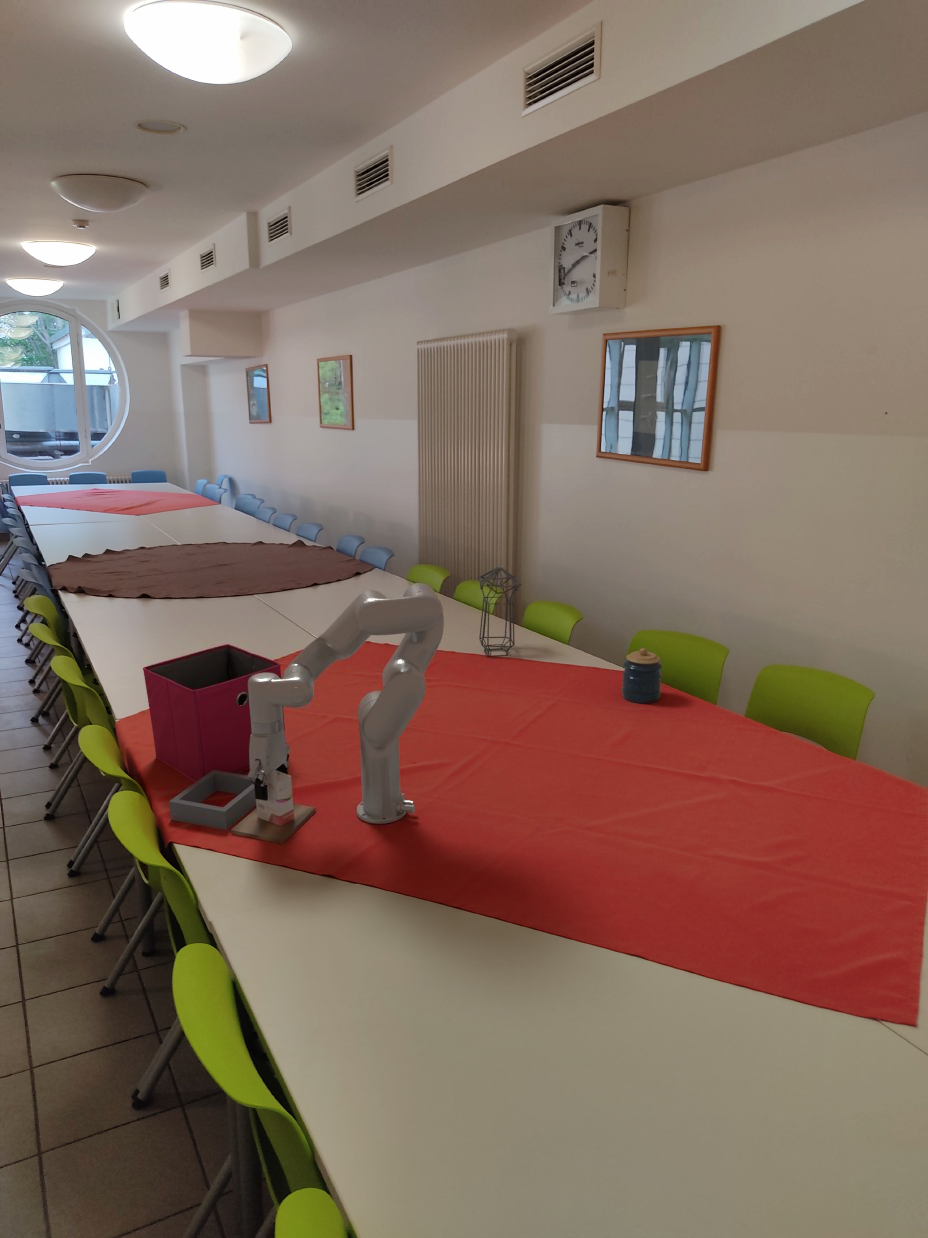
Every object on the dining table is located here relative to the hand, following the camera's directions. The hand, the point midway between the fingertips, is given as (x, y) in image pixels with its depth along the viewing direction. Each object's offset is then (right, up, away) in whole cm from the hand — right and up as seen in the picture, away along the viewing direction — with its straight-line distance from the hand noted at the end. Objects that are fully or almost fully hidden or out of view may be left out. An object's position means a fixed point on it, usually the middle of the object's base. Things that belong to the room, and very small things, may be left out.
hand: (272, 790), depth 199 cm
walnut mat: (0, -8, +2) cm, 9 cm away
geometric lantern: (+60, +28, +129) cm, 145 cm away
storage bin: (-24, +1, +38) cm, 44 cm away
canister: (+107, +15, +82) cm, 136 cm away
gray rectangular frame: (-15, -6, +9) cm, 19 cm away
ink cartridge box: (0, -8, +2) cm, 8 cm away
